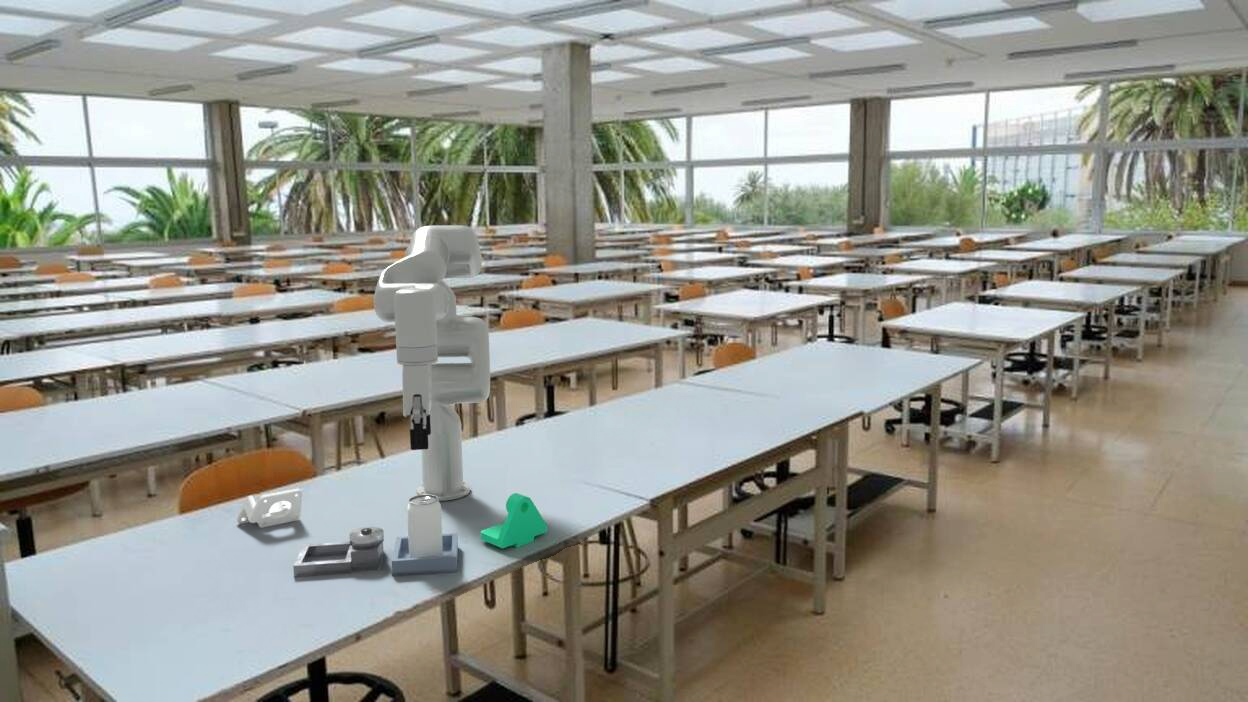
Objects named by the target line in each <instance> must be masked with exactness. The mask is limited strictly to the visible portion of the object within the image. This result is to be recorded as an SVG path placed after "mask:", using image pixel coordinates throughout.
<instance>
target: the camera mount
mask: <svg viewBox="0 0 1248 702" xmlns="http://www.w3.org/2000/svg"><path fill="white" fill-rule="evenodd" d="M505 509H506V511H507V516H506V517H505V521H504V522H502V523H500V524H497V525H493V526H491V527H488V528H485V529H482V530H481V531H480V540H482V541H483V542H486V543H488V544H491V545H493V546H496V547H499V548H500V549H505V548H507V547H510V546H512V547H515V548H519V547H521V546H522V547H523V546H525V545H526V544H529V543H531V542H534V541H535V537H538V536H539V535H541V534H544V533H547V532H548V526H547V523H546V522H545V520H544V518H543V516H542V514H541V513H540V511H539V510H538V508H537V507H536V505H535V504H534V502H533V500H532V499H531V497H529V496H527V495H523V494H521V493H511V495H509V497H508V498H507V500H506V504H505Z"/></svg>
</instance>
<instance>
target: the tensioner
mask: <svg viewBox="0 0 1248 702" xmlns="http://www.w3.org/2000/svg"><path fill="white" fill-rule="evenodd" d="M384 533H385V531H384V529H383V528H381V527H378V526H377V527H376V526H365V527H359V528H356V529H354V530H353V529H352V531H351V532H349V533H348V534H349V536H348V537H349V541H337V542H324V543H323V542H321V543H307V544H305V543H304V544H303V545H302V548H301V549H300V551H299V553H298V555H297V558H296V560H295V562H294V564H293V566H292V567H293V577H294V578H296V577H297V578H298V577H311V576H312V577H313V576H325V575H326V576H327V575H339V574H340V575H342V574H352V572H361V571H362V572H363V571H376V570H377V571H378V570H380V566H381V562H382V558H383V554H384V542H385V535H384ZM338 555H339V556H341V555H346V556H345V559H340V560H339V559H337V560H326V561H325V560H322V561H311V562H310V561H309V560H310V558H312V557H327V556H338Z"/></svg>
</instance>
